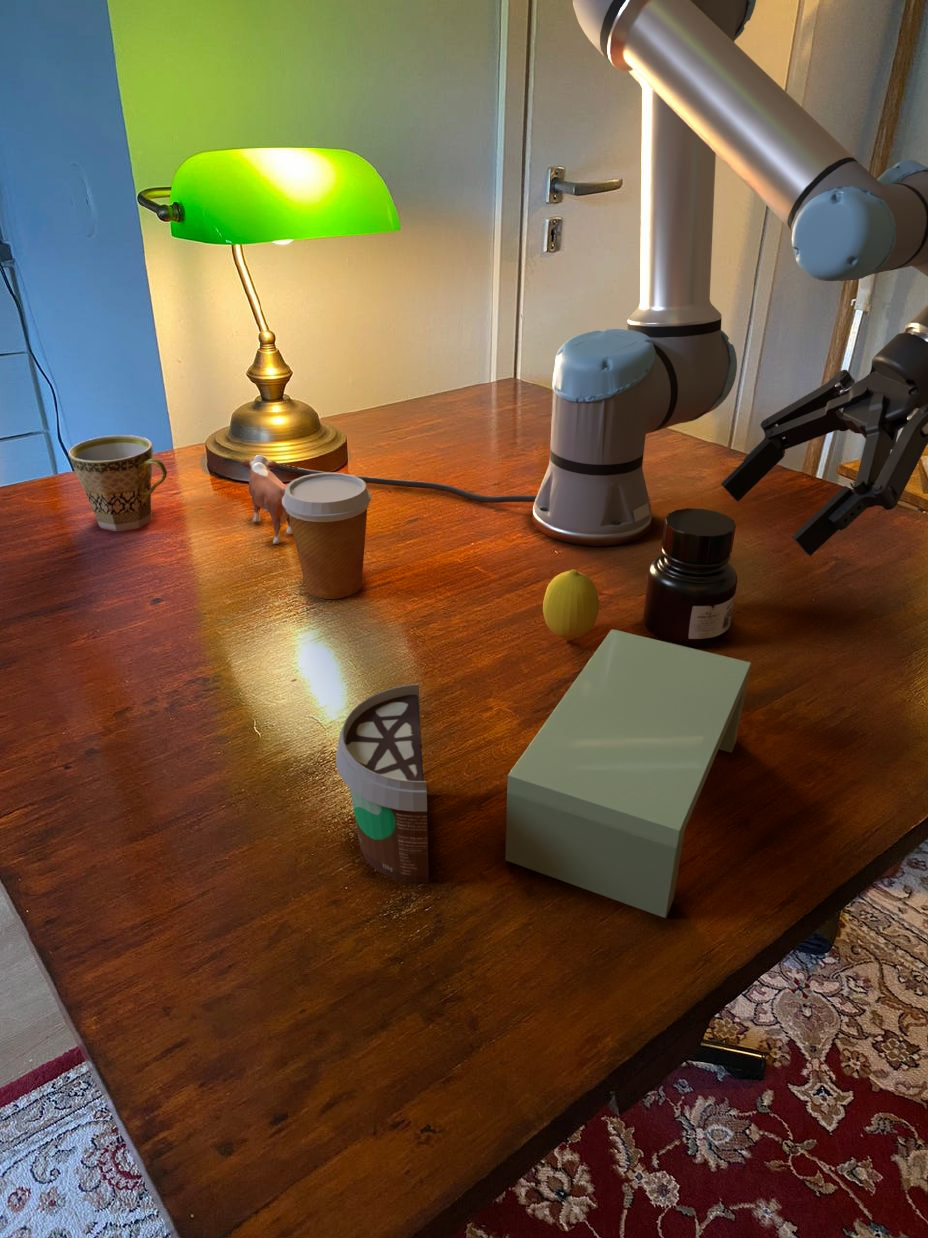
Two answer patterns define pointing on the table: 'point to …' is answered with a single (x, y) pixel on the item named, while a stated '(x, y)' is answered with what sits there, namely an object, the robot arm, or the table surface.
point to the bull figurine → (267, 493)
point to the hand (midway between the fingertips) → (762, 518)
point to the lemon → (570, 605)
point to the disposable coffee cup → (329, 531)
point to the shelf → (624, 768)
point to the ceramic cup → (117, 479)
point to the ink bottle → (692, 579)
